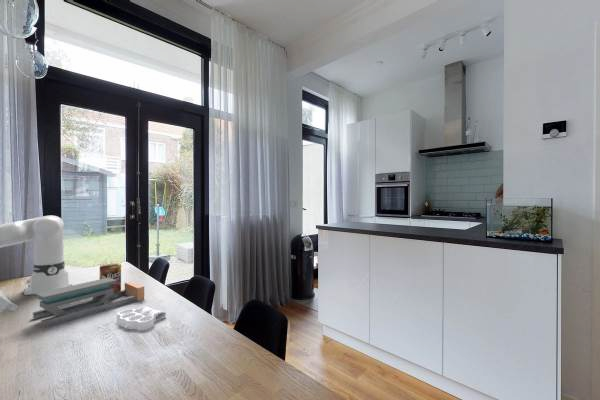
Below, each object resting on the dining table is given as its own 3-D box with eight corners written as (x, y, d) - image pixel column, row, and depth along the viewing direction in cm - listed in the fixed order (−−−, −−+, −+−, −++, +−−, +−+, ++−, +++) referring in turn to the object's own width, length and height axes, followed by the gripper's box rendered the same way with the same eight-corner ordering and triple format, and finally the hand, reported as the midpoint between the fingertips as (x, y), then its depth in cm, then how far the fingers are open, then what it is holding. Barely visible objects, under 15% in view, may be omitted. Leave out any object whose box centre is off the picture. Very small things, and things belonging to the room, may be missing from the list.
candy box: (99, 297, 130) (99, 266, 130) (99, 295, 134) (99, 264, 134) (121, 294, 135) (121, 263, 135) (121, 291, 139) (121, 262, 139)
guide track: (32, 318, 107) (32, 312, 107) (124, 294, 134) (124, 289, 134) (41, 328, 99) (41, 321, 99) (137, 300, 126) (137, 295, 126)
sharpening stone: (43, 326, 101) (43, 297, 101) (36, 321, 105) (36, 293, 105) (116, 304, 122) (116, 280, 122) (108, 300, 127) (108, 277, 127)
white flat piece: (171, 319, 107) (134, 336, 95) (143, 310, 116) (106, 324, 103) (171, 311, 107) (134, 326, 95) (143, 303, 116) (106, 316, 103)
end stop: (124, 294, 134) (124, 282, 134) (131, 293, 137) (131, 281, 137) (137, 300, 126) (137, 288, 126) (144, 299, 128) (144, 286, 128)
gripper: (-40, 290, 95) (1, 309, 103) (-35, 304, 83) (11, 324, 91) (-20, 275, 98) (18, 294, 106) (-13, 285, 86) (29, 306, 94)
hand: (15, 308), depth 98 cm, fingers closed
